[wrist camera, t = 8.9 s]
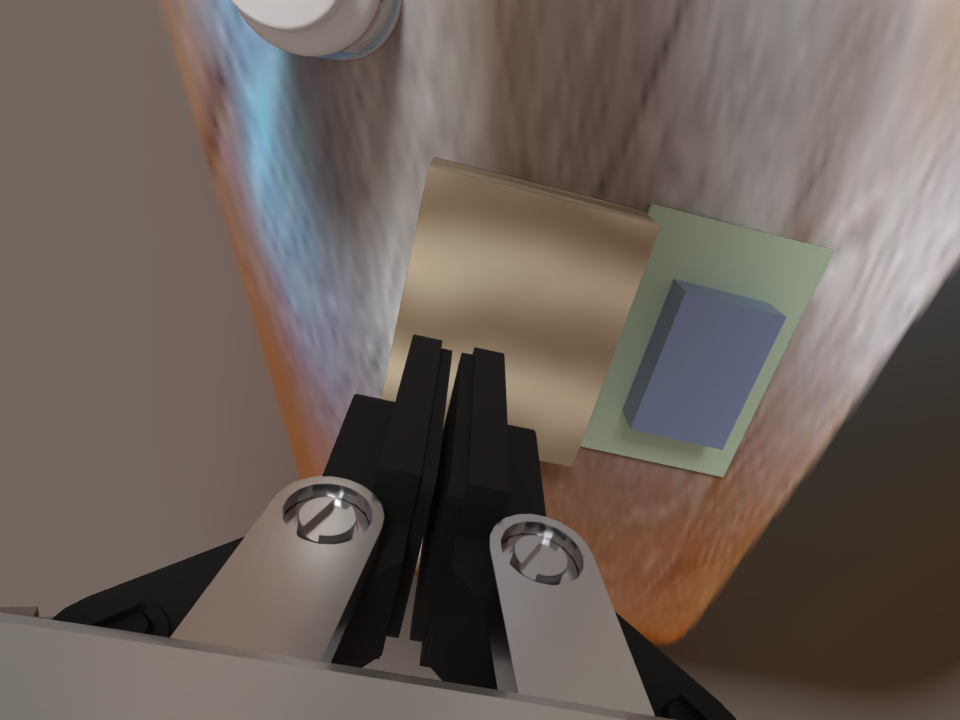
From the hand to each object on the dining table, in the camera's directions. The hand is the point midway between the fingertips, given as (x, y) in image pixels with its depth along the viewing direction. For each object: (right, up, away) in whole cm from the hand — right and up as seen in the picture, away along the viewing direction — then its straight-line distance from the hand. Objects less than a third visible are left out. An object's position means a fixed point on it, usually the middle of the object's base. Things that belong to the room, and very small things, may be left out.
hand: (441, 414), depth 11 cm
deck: (+2, +4, +26) cm, 27 cm away
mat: (+14, +2, +27) cm, 31 cm away
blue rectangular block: (+14, +1, +26) cm, 30 cm away
